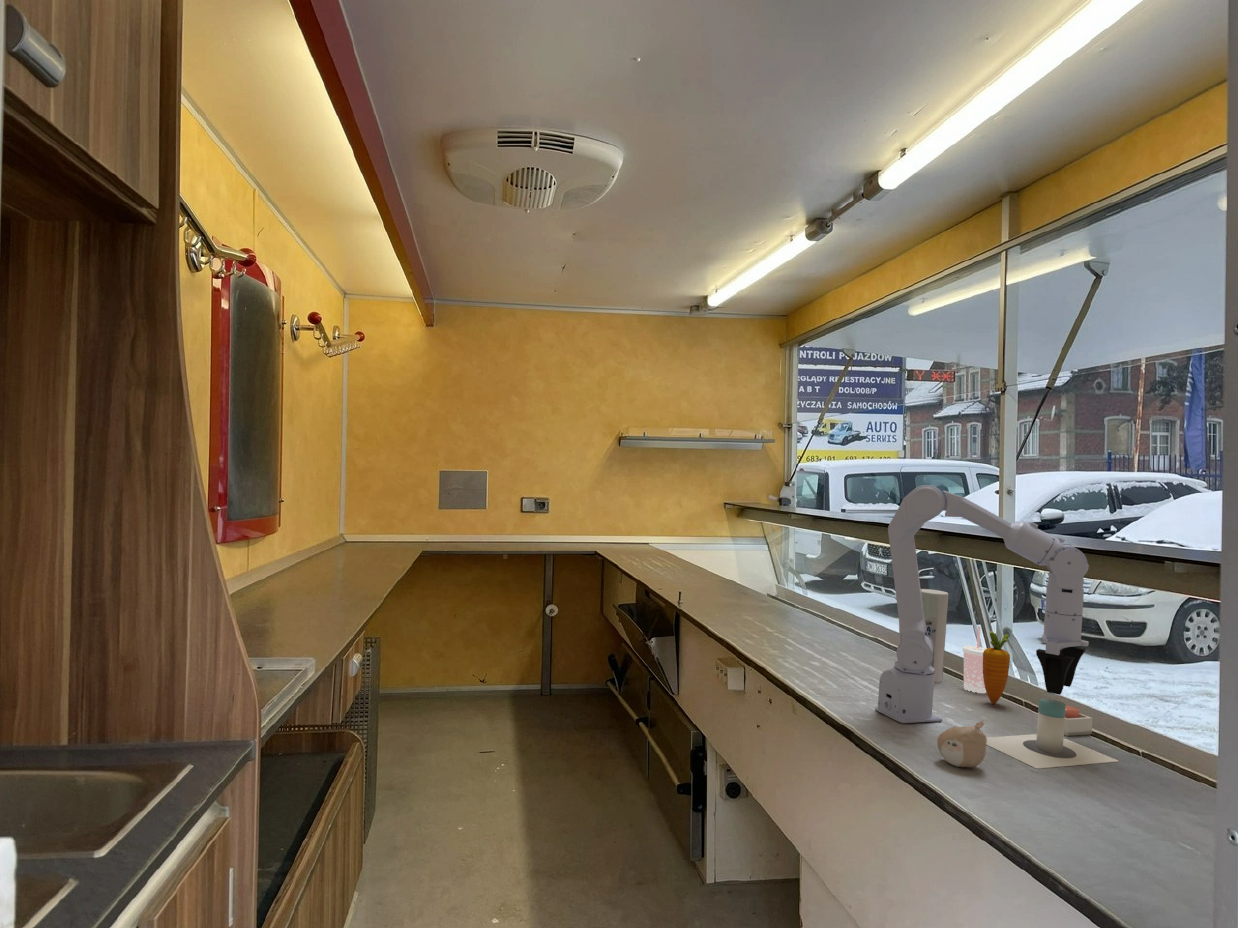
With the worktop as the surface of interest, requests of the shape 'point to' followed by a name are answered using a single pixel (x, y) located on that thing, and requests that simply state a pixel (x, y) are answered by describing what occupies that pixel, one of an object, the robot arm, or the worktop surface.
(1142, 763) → the worktop surface
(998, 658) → the carrot
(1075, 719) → the button housing
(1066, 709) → the button
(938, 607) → the spray can
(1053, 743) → the marker
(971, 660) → the beverage cup
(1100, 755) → the paper sheet
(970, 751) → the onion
